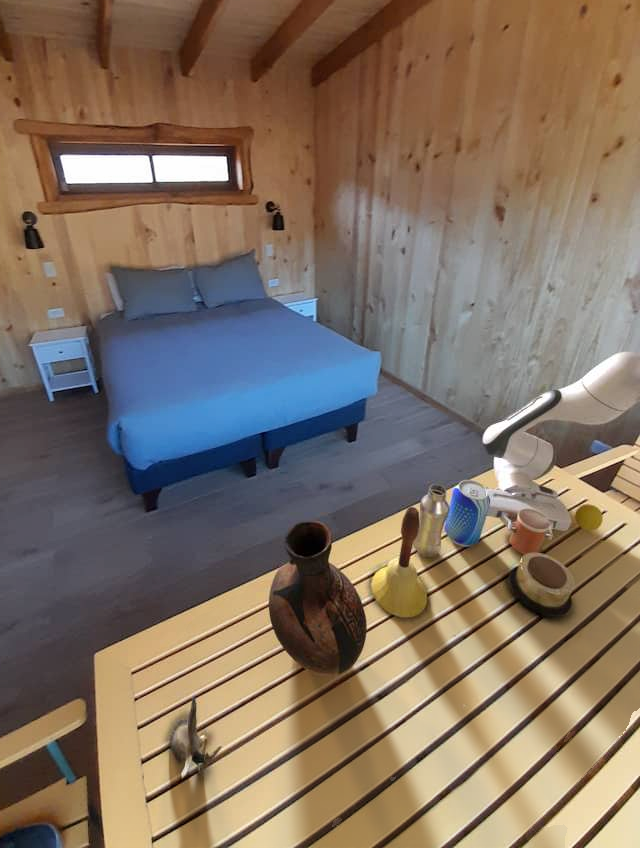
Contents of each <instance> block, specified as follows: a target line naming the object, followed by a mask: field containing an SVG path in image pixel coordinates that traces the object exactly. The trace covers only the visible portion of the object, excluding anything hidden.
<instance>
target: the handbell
mask: <svg viewBox="0 0 640 848" xmlns="http://www.w3.org/2000/svg"><path fill="white" fill-rule="evenodd" d="M419 518H420V511H419V510H418V509H417V508H416V507H414V506H410V507H408V508H407V509H406V510H405V513H404V515H403V517H402V520H401V526H400V534H401V539H402V540H401V547H400V551H399V558H394V559H392V560H391V561H389V562H388V564H387V566H384V567H381V568H380V569H379V570H378V571H376V572H375V574H374V576H373V577H372V579H371V585H370V587H371V591H372V595H373V597H374V599H375V601H376V603H377V604H378V605H379V606H380V607H381V608H382V609H383V610H384V611H386V612H387V613H389V614H390V615H393V616H396V617H399V618H412V617H416V616H418V615H420V614H421V613H422V612H423V611H424V610H425V608H426V606H427V604H428V592H427V590H426V587H425V585H424V583H423V582H422V580H421V579H420V577H418V572H417V568H416V567H415V566H414V564H413V563H412V562H410V560H411V555H412V551H413V550H412V549H413V541H414V540H415V539H416V537H417V535H418V531H419V525H420V522H419Z"/></svg>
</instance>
